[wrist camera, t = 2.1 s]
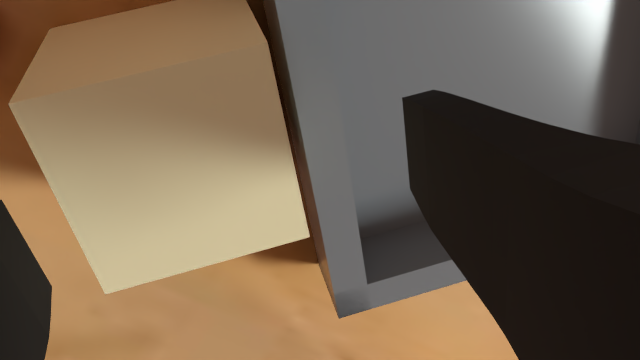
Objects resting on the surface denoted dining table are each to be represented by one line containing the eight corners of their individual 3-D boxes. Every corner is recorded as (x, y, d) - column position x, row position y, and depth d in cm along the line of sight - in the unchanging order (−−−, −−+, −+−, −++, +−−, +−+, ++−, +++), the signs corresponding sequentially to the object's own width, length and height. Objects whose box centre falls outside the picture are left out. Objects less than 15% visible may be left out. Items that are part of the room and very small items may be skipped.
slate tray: (319, 264, 19) (338, 318, 17) (206, -264, 11) (217, -286, 9) (643, 171, 20) (698, 210, 18) (742, -357, 13) (858, -394, 10)
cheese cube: (118, 184, 16) (104, 294, 12) (50, 27, 13) (8, 103, 10) (275, 143, 16) (309, 237, 13) (238, -15, 14) (267, 42, 10)
